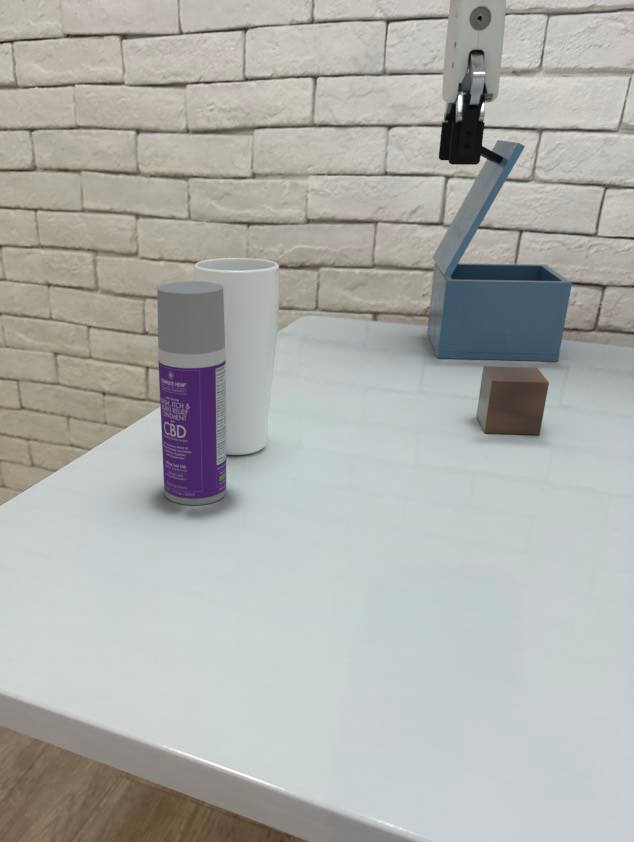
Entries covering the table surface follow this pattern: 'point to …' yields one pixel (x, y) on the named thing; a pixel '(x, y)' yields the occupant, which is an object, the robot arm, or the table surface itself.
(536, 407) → the block
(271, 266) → the drinking glass
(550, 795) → the table surface
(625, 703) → the table surface
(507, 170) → the lid
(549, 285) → the blue storage box
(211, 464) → the container
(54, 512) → the table surface
